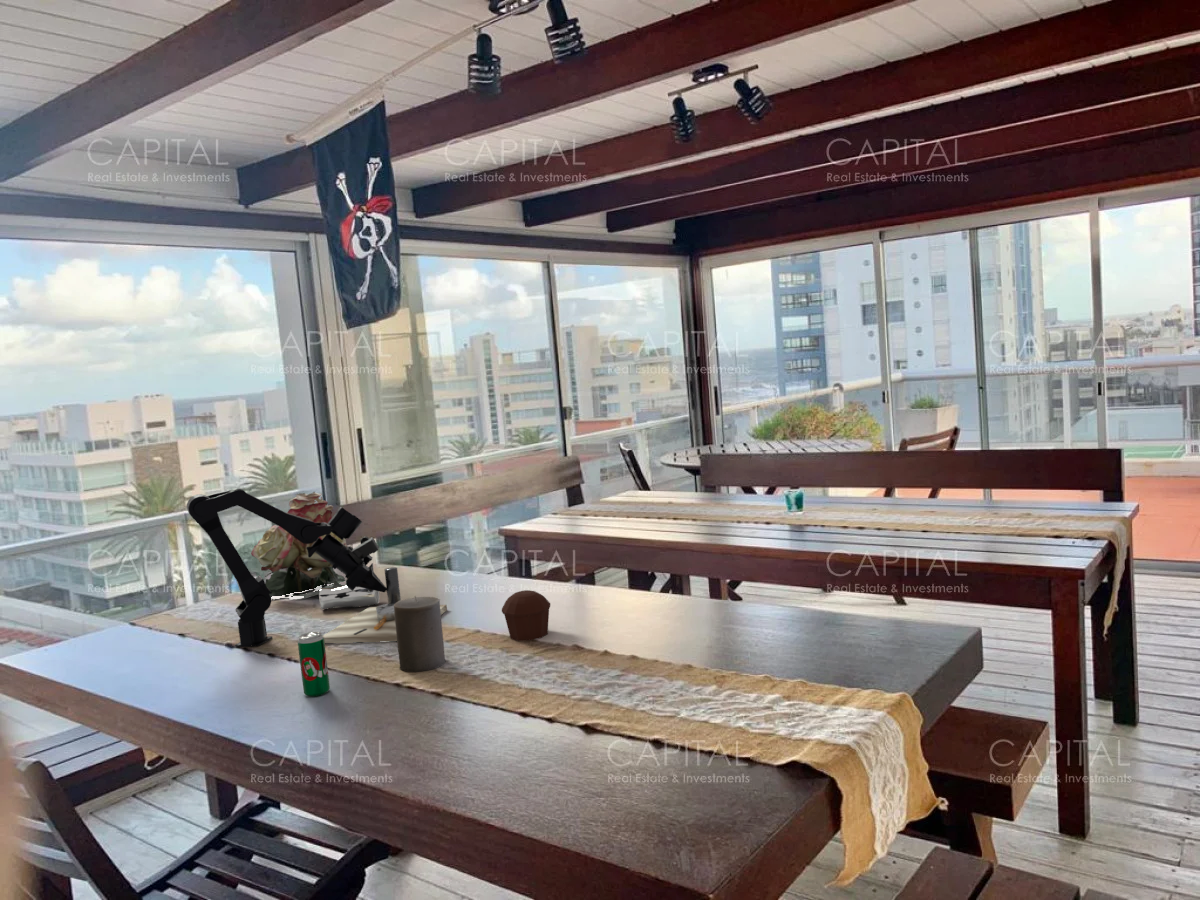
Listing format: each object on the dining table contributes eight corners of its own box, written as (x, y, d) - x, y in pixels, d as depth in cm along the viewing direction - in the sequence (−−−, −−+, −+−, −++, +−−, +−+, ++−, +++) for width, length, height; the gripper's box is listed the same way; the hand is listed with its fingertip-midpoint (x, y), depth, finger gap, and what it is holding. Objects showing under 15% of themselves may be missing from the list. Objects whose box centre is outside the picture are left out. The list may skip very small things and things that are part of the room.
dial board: (406, 641, 210) (405, 634, 210) (320, 643, 215) (319, 636, 215) (447, 610, 236) (446, 603, 236) (369, 612, 240) (368, 606, 240)
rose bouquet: (247, 605, 262) (234, 503, 259) (302, 579, 290) (291, 488, 288) (326, 603, 256) (314, 498, 253) (375, 577, 284) (364, 483, 281)
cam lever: (386, 628, 217) (381, 583, 216) (365, 630, 217) (360, 585, 216) (406, 608, 235) (402, 566, 234) (387, 609, 235) (383, 568, 234)
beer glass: (320, 613, 244) (376, 606, 245) (317, 587, 244) (373, 580, 246) (326, 610, 251) (380, 603, 252) (323, 585, 251) (377, 578, 253)
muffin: (497, 634, 210) (492, 592, 209) (540, 624, 215) (536, 583, 214) (516, 646, 200) (511, 602, 199) (561, 635, 205) (557, 592, 204)
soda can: (321, 686, 184) (314, 629, 183) (335, 690, 181) (328, 632, 180) (299, 695, 180) (291, 636, 179) (313, 699, 177) (306, 640, 176)
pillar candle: (400, 675, 187) (393, 604, 185) (398, 661, 196) (391, 594, 195) (448, 667, 189) (441, 598, 188) (443, 654, 199) (437, 587, 197)
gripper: (354, 535, 220) (405, 573, 223) (359, 523, 239) (406, 559, 242) (324, 571, 220) (376, 609, 223) (332, 556, 238) (380, 591, 241)
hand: (385, 590), depth 232 cm, fingers closed, pressing on cam lever
